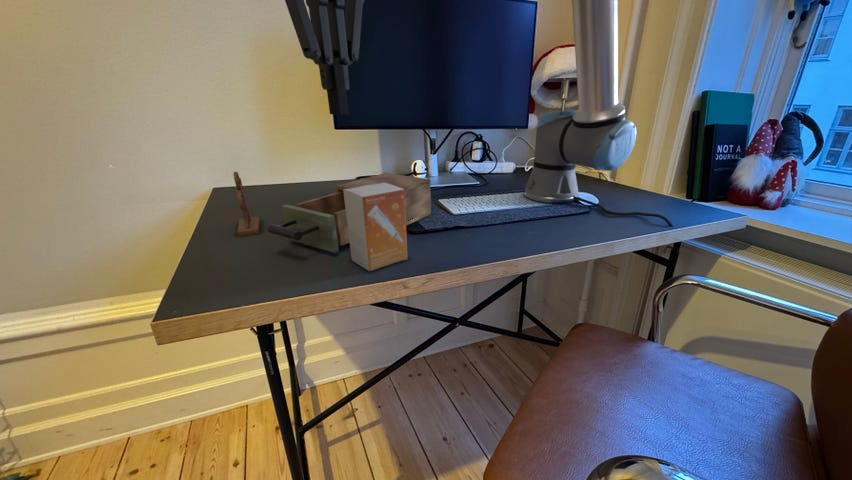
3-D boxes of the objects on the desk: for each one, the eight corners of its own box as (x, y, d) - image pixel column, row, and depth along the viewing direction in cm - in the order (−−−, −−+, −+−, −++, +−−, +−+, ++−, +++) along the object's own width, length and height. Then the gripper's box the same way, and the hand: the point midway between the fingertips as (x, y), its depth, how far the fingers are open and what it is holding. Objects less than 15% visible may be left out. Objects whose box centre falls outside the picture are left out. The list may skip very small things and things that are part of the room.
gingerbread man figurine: (259, 233, 77) (245, 175, 71) (237, 236, 75) (221, 177, 70) (259, 220, 84) (246, 167, 79) (240, 222, 82) (225, 168, 77)
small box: (369, 272, 62) (361, 196, 56) (351, 260, 66) (341, 188, 60) (408, 259, 67) (405, 188, 61) (389, 249, 71) (384, 181, 65)
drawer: (309, 263, 62) (302, 225, 59) (263, 248, 67) (254, 213, 64) (389, 228, 79) (387, 196, 76) (346, 218, 84) (343, 188, 81)
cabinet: (387, 234, 78) (384, 194, 74) (340, 223, 83) (335, 185, 80) (431, 214, 91) (430, 179, 87) (388, 205, 96) (385, 172, 93)
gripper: (275, -124, 39) (313, 117, 49) (375, -83, 48) (388, 114, 58) (244, -104, 43) (285, 114, 53) (341, -70, 52) (359, 111, 62)
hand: (339, 114), depth 56 cm, fingers closed
